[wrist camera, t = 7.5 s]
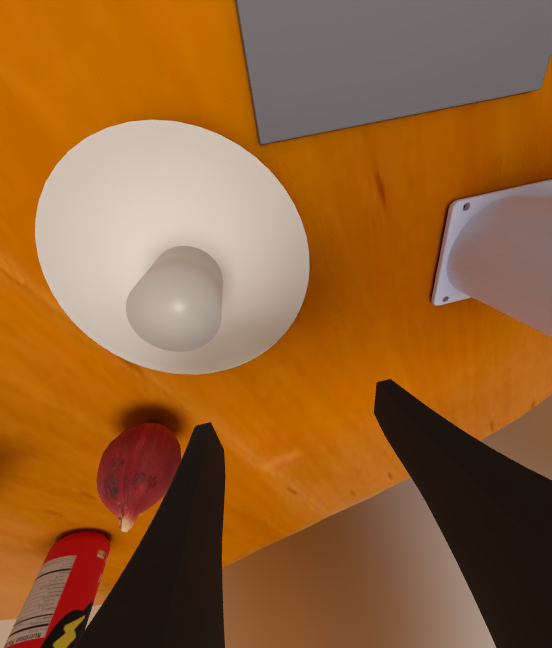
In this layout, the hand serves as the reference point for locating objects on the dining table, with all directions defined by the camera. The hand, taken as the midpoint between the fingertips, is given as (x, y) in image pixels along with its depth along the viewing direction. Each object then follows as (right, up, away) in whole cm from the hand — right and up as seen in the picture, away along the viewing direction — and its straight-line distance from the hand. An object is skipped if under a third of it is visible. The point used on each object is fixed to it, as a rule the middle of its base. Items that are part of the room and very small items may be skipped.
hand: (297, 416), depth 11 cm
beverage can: (-25, -23, +21) cm, 40 cm away
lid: (-5, +6, +2) cm, 8 cm away
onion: (-12, -5, +12) cm, 18 cm away
